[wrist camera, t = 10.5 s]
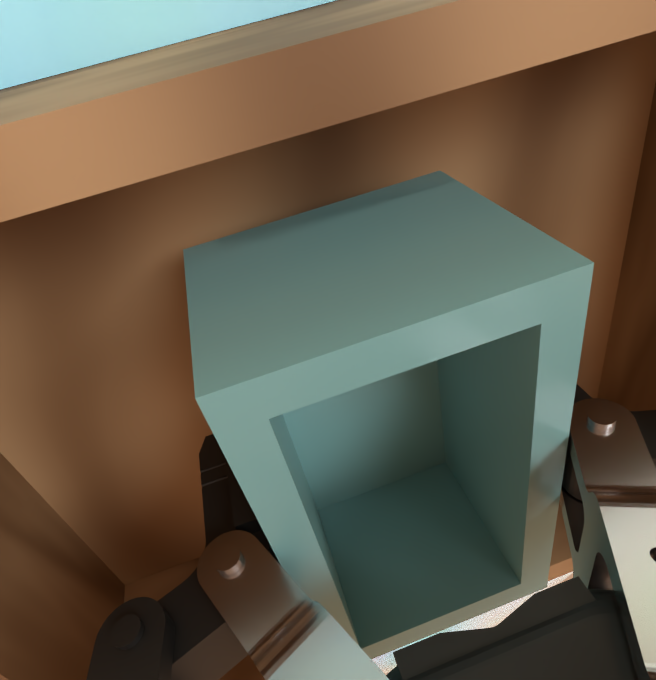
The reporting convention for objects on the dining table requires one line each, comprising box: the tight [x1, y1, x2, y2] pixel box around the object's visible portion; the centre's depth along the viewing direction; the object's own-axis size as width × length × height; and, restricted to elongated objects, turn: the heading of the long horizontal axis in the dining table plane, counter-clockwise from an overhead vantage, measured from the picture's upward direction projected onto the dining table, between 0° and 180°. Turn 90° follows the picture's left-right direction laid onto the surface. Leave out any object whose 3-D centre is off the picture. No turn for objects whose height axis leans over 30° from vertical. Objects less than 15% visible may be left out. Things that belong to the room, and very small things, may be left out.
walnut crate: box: [0, 0, 656, 680], centre depth 13 cm, size 22×17×6 cm
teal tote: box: [183, 170, 594, 659], centre depth 12 cm, size 6×10×5 cm, turn 12°
